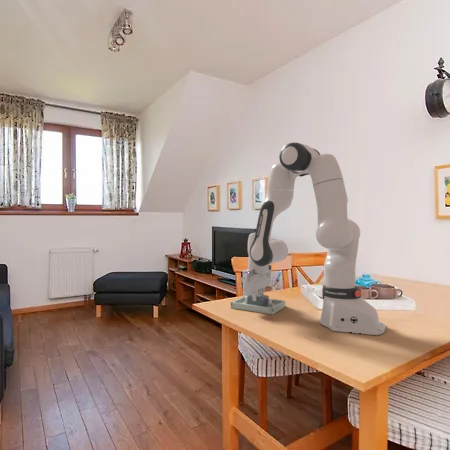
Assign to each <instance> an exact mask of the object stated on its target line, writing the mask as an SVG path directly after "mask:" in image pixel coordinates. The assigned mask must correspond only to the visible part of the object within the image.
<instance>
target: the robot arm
mask: <svg viewBox="0 0 450 450" xmlns="http://www.w3.org/2000/svg"><path fill="white" fill-rule="evenodd" d="M278 158H279V162H276V163H273V165H271V168H270V170H269V174H268V179H267V186H266V187H267V188H266V191H265V192H266V194H265V197H264V202H263V203H262V205H261V207H260V210H259V214H258V218H257V223H256V228H255V231H254V232H251V233H250V234H249V235H248V238H247V254H248V258H247V269H248V274H247V275H246V277H245V285H244V290H245V292H246V293H251V295H252V300H253V301H257V296H256V293H257V291H258V290H259V294H260V295H265V294H264V293H265V290H266V287H268V286H270V285H271V281H272V271H271V270H272V264H275V263H280V262H283V261H284V260H285V259H286V258H287V256H288V251H289V250H288V249H289V248H288V246H287V244H286V243H285V242H284V241H283V240H281V239H277V238H275V237H273V236H271V234H272V231H273V226H274V225H273V224H274V221H275V220H276V218H277V217H278V215H280V214H281V213H283V212H284V211H286V210H288V209H289V208H290V206H292V202H293V200H294V199H293V198H294V191H295V183H296V180H297V178H298V177H305V176H310V178H311V182H312V187H313V188H312V189H313V192H314V196H315V201H316V207H317V208H316V209H317V210H316V211H317V228H316V231H315V238H316V241H317V242H318V244H319V245H320V246H321V247H323V248H325V249H327V252H326V253H327V254H326V256H325V260H324V262H323V285H322V287H321V288H322V300H323V301H322V308H321V314H320V318H319V320H318V321H319V323H320V325H322V326H324V327H326V328H328V329H329V330H330V331H333V332H341V333H349V332H352V333H351V334H359V333H361V335H369V336H370V335H371V336H379V335H382V334H384V333H385V332H386V329H387V326H386V324H385V323H384V322H383V321H381V320H380V319H379V313H378V311H377V310H376V308H375V307H374V306H373V305H372V304H370V303H369V302H367V301H366V300H365V298H364V299H363V298H362V288H361V287H360V288H359V287H358V286H356V263H357V256H358V250H359V240H360V237H361V229H360V227H359V225H358V224H357V223H356V222H355V221H353V219H349V218H348V202H349V201H348V200H349V199H348V195H347V194H348V193H347V192H346V191H347V189H346V186H345V182H344V176H343V173H342V170H341V167H340V165H339V163H338V160H337V158H336V157H335V156H334V155H332V154H331V153H322V154H321V153H320V152H319V151H318V150H317V149H315V148H313V147H310V145H308V144H303V143H300V142H289V143H287V144H285V145H284V146H283V147H282V149H281V150H280V152H279V156H278Z"/></svg>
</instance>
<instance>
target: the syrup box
mask: <svg viewBox="0 0 450 450" xmlns="http://www.w3.org/2000/svg"><path fill="white" fill-rule="evenodd" d="M247 274H248V268H247V269H244V270H242V297H244V296H249V295H251V293H246V292H245V290H244V285H245V277H246V275H247ZM259 293H260V290H258V291H257V293H256V294H259Z"/></svg>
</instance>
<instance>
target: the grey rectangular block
mask: <svg viewBox="0 0 450 450" xmlns="http://www.w3.org/2000/svg"><path fill="white" fill-rule="evenodd" d="M256 296H257V301H253V300H252V295H249V296H248V304H249V305H256V306H264V307H266V306H267V305H268V299H270V297H269V295H266V294H264V295H260V294H256Z"/></svg>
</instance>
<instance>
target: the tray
mask: <svg viewBox="0 0 450 450" xmlns="http://www.w3.org/2000/svg"><path fill="white" fill-rule="evenodd" d="M285 307H286V300H282V299H276V298H269V299H268V305H267V306H266V307H264V306H256V305H249V304H248V296H244V297H243V296H242V297H239V298H238V299H235V300H233V301H231V302H230V309H235V310H240V311H241V310H243V311H246V312H255V313H261V314H268V315H274V314H277V312H279V311H280V310H282V309H284V308H285Z"/></svg>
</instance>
